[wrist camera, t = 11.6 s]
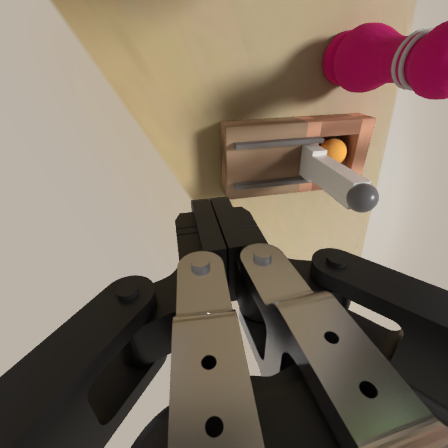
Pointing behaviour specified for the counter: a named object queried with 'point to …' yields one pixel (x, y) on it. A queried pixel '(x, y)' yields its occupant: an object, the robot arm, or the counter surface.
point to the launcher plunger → (337, 179)
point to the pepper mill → (389, 59)
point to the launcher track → (284, 151)
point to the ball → (335, 149)
